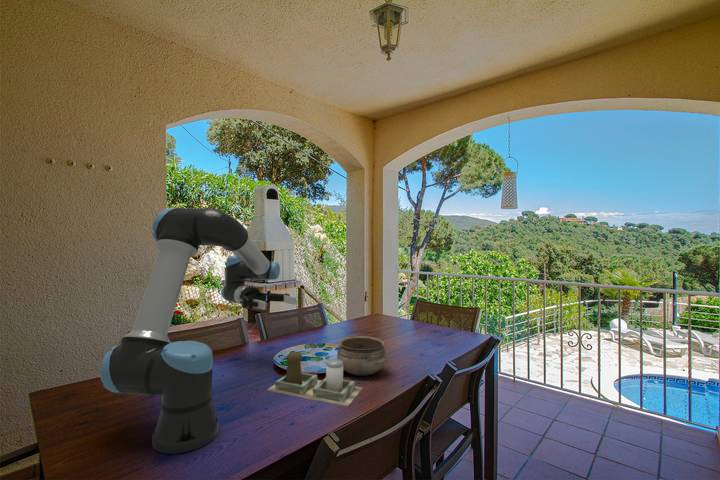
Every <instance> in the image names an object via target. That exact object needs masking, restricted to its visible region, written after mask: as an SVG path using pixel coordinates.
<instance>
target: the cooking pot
mask: <svg viewBox="0 0 720 480" xmlns="http://www.w3.org/2000/svg"><path fill="white" fill-rule="evenodd" d="M338 343H339V344H338V350H337V353H336V359H340V360H342V361H343V371H345V372H346V373H348V374H349V375H353V376H356V377H367V376H372V375H373V374H375V373H377V372H379V371H380V370H381V369H382V368H384V366H385V364H386V362H388V359H387V352H386V349H385V347H384V346H385V340H382V339H381V338H378V337H374V336H367V335H354V336H347V337H344V338H342V339H340V340H339V342H338Z"/></svg>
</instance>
